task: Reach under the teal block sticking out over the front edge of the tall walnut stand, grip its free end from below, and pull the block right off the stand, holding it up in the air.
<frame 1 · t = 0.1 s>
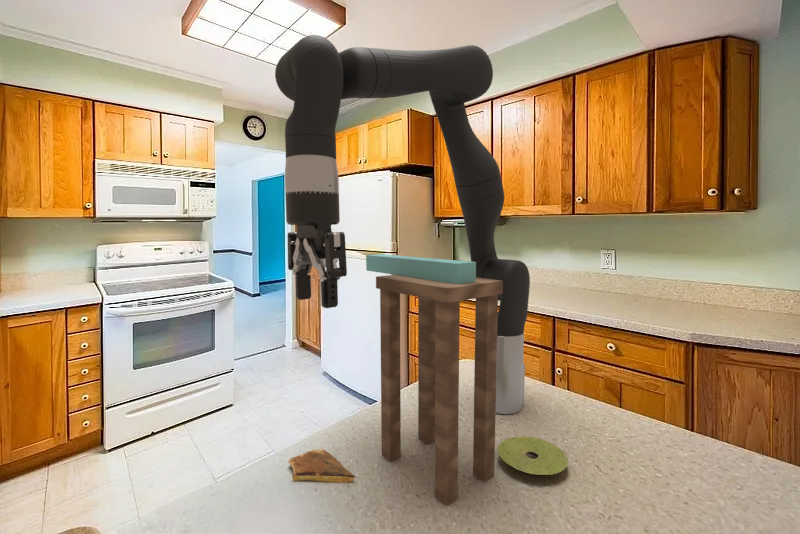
hand: (316, 302, 57), 29 cm above the countertop, tool pointing down, fingers open, 8 cm apart
brown flat wedge: (324, 470, 66), on the countertop
walnut stand: (435, 465, 66), on the countertop
green flat disc: (531, 465, 66), on the countertop
teal block: (414, 275, 67), point 32 cm above the countertop, touching walnut stand
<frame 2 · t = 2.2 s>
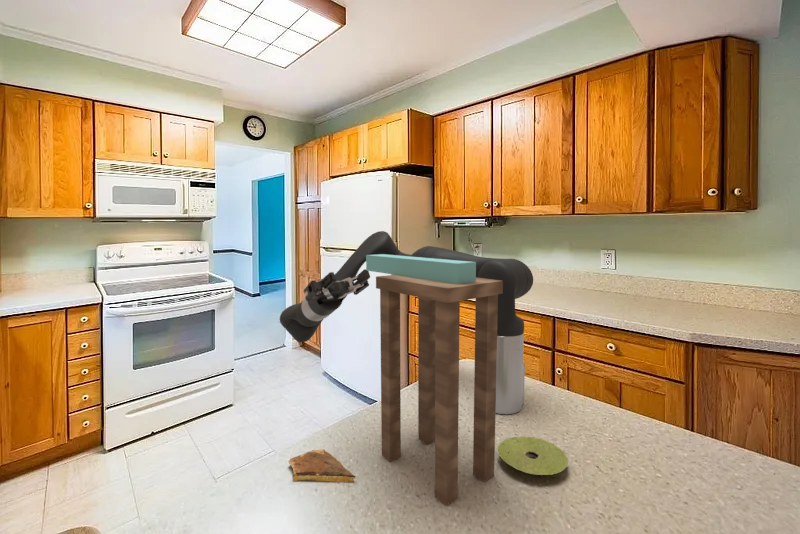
hand: (351, 274, 83), 30 cm above the countertop, tool pointing upward, fingers open, 8 cm apart
nothing on the countertop moved.
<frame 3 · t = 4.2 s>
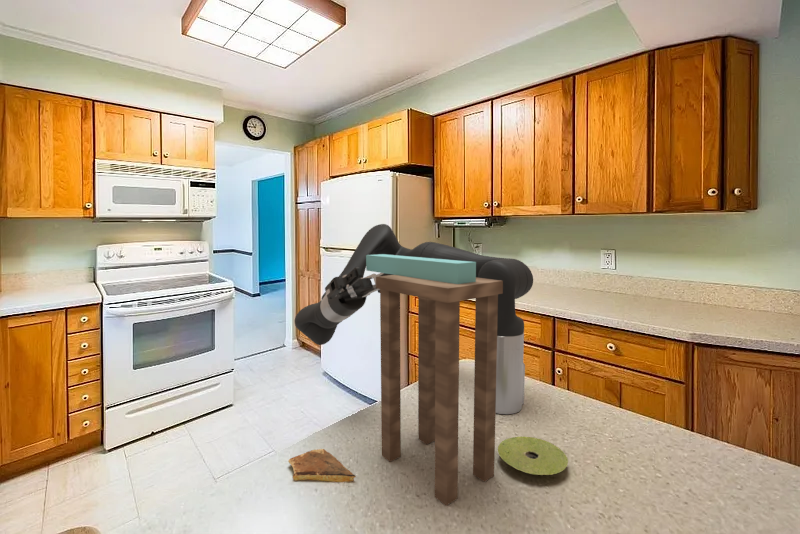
hand: (378, 270, 75), 32 cm above the countertop, tool pointing upward, fingers open, 8 cm apart
nothing on the countertop moved.
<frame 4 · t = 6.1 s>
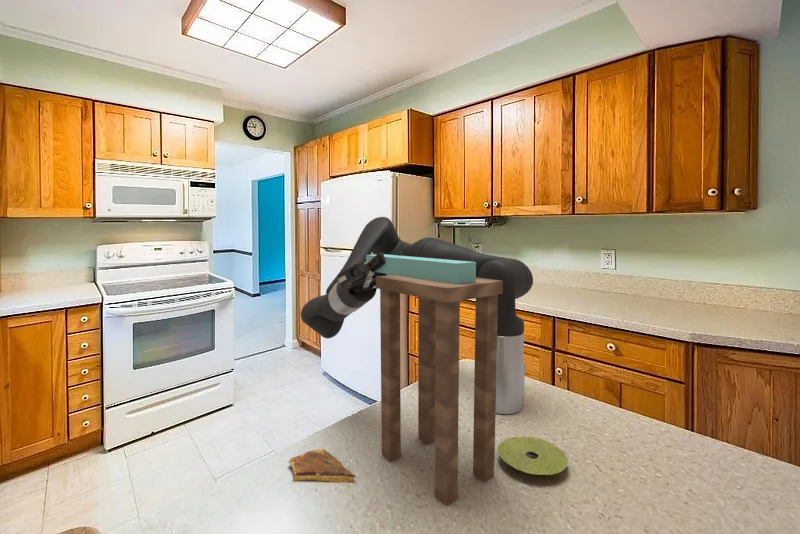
hand: (392, 256, 71), 35 cm above the countertop, tool pointing upward, fingers closed on teal block, 4 cm apart
teal block: (414, 275, 67), point 32 cm above the countertop, touching gripper, walnut stand
everything else where it was.
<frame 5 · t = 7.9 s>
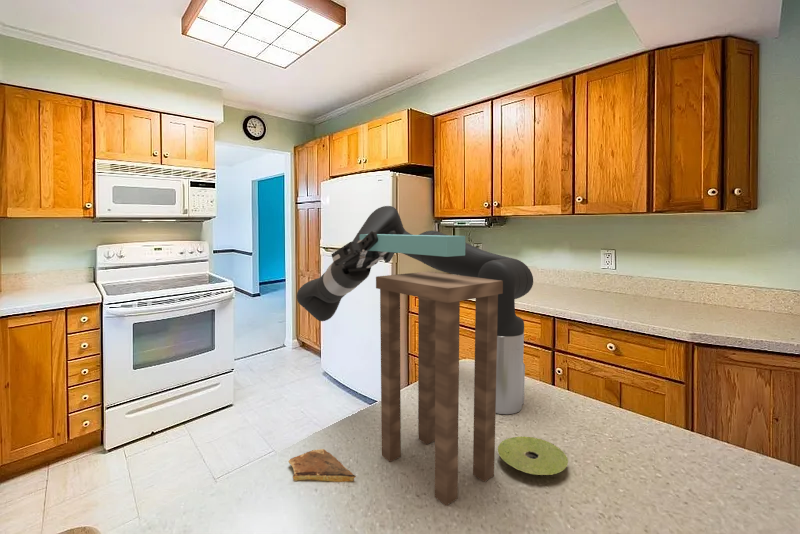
hand: (385, 235, 73), 39 cm above the countertop, tool pointing upward, fingers closed on teal block, 4 cm apart
teal block: (406, 252, 68), point 36 cm above the countertop, touching gripper
everything else where it was.
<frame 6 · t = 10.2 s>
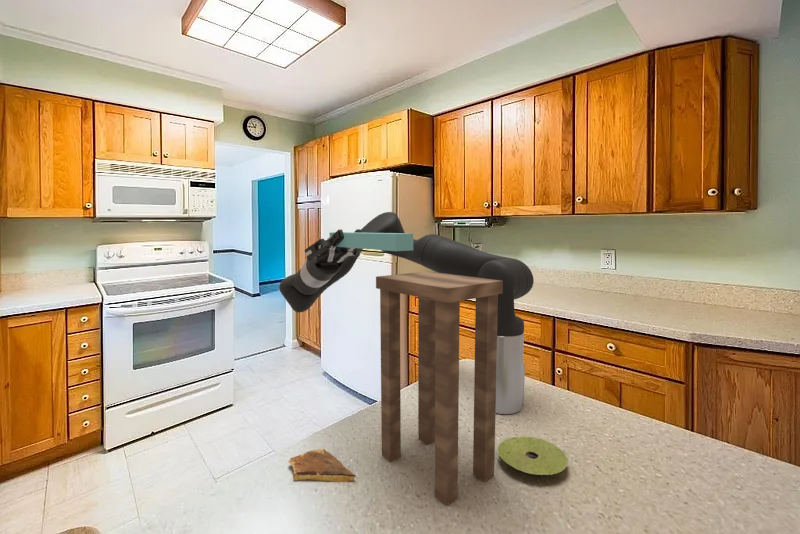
hand: (351, 233, 82), 39 cm above the countertop, tool pointing upward, fingers closed on teal block, 4 cm apart
teal block: (367, 247, 78), point 36 cm above the countertop, touching gripper
everything else where it was.
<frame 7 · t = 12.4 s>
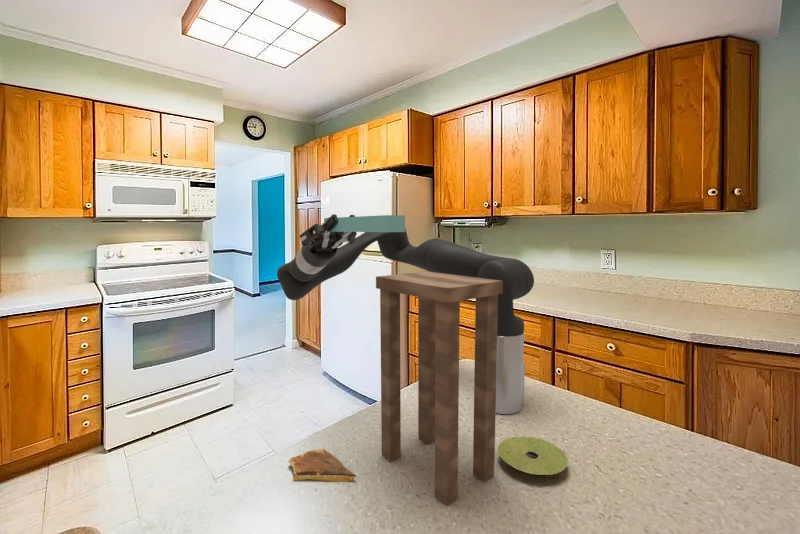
hand: (345, 218, 84), 42 cm above the countertop, tool pointing upward, fingers closed on teal block, 4 cm apart
teal block: (360, 231, 79), point 39 cm above the countertop, touching gripper
everything else where it was.
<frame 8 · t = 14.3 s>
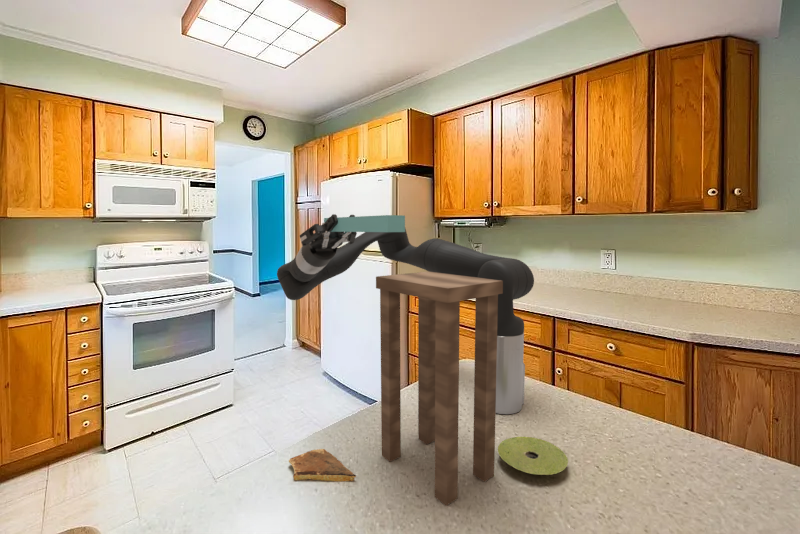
hand: (345, 218, 84), 42 cm above the countertop, tool pointing upward, fingers closed on teal block, 4 cm apart
teal block: (360, 231, 79), point 39 cm above the countertop, touching gripper
everything else where it was.
at the end: the gripper is holding teal block; teal block touching gripper; teal block moved 18.5 cm from its start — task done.
